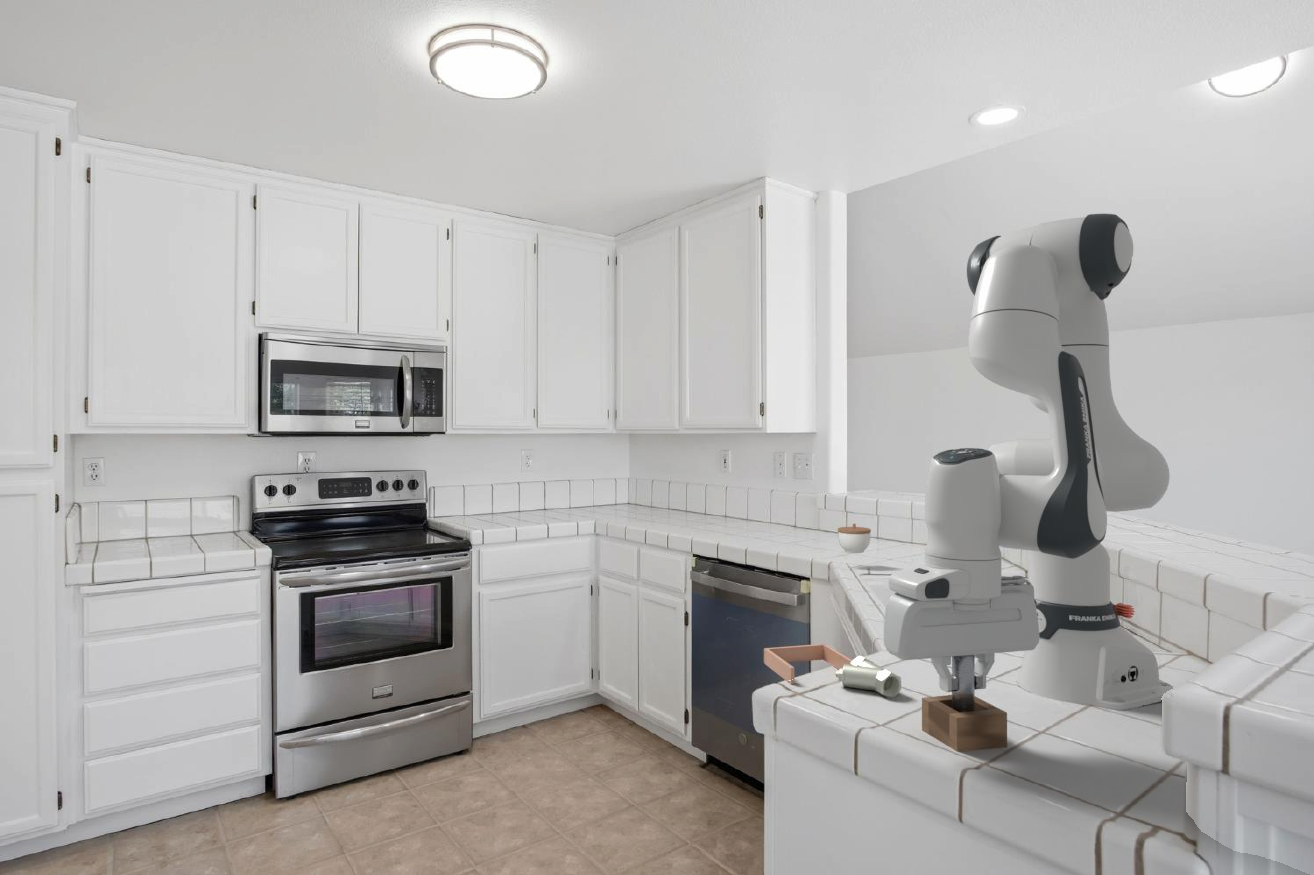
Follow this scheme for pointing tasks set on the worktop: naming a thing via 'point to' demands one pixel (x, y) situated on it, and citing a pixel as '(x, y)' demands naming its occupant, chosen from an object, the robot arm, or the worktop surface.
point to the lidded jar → (854, 538)
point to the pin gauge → (964, 683)
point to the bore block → (964, 724)
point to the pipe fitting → (869, 677)
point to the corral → (801, 658)
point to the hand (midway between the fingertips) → (962, 689)
